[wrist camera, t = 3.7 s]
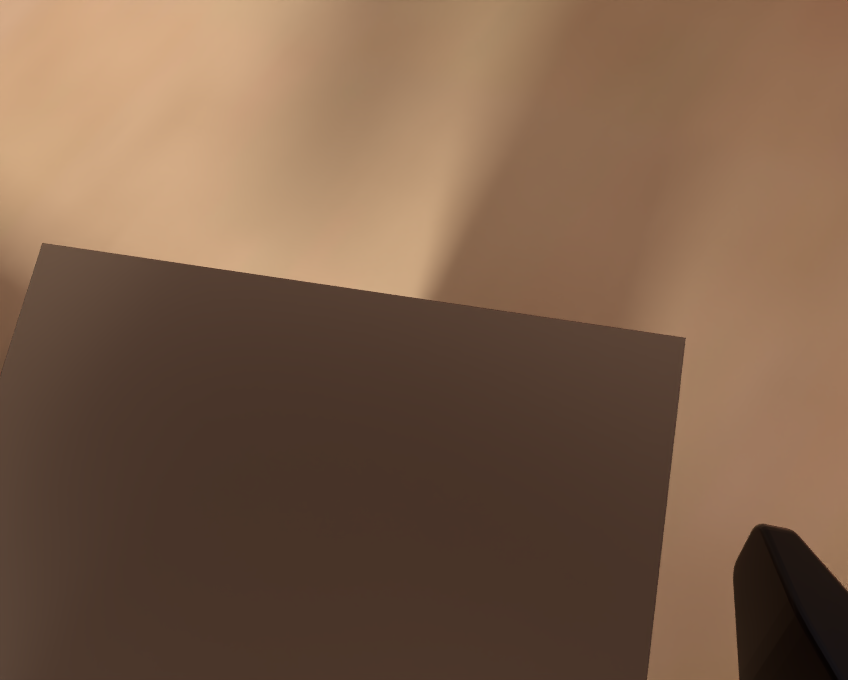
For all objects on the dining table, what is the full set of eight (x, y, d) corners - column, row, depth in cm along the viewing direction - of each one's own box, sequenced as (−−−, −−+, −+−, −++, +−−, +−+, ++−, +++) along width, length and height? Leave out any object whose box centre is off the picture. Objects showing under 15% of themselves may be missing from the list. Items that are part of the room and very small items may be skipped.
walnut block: (521, 647, 14) (561, 1424, 3) (344, 604, 15) (-220, 1066, 3) (553, 437, 15) (685, 338, 4) (384, 406, 16) (41, 242, 4)
